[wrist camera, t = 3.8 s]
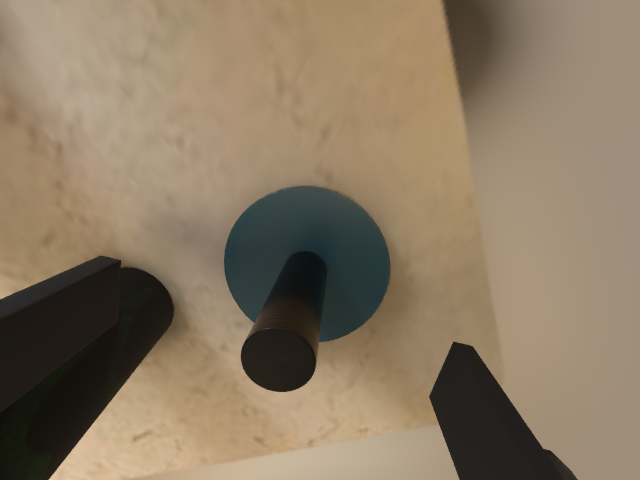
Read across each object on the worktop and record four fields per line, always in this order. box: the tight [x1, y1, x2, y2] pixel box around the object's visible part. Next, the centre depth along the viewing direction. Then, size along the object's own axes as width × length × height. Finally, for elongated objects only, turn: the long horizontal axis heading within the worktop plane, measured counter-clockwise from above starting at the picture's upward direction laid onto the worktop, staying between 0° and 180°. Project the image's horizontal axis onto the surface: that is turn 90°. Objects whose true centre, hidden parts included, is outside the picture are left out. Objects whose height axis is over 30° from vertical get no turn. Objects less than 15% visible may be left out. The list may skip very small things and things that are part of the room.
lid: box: [224, 186, 390, 392], centre depth 14 cm, size 10×10×9 cm
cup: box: [0, 267, 174, 480], centre depth 15 cm, size 8×8×12 cm
